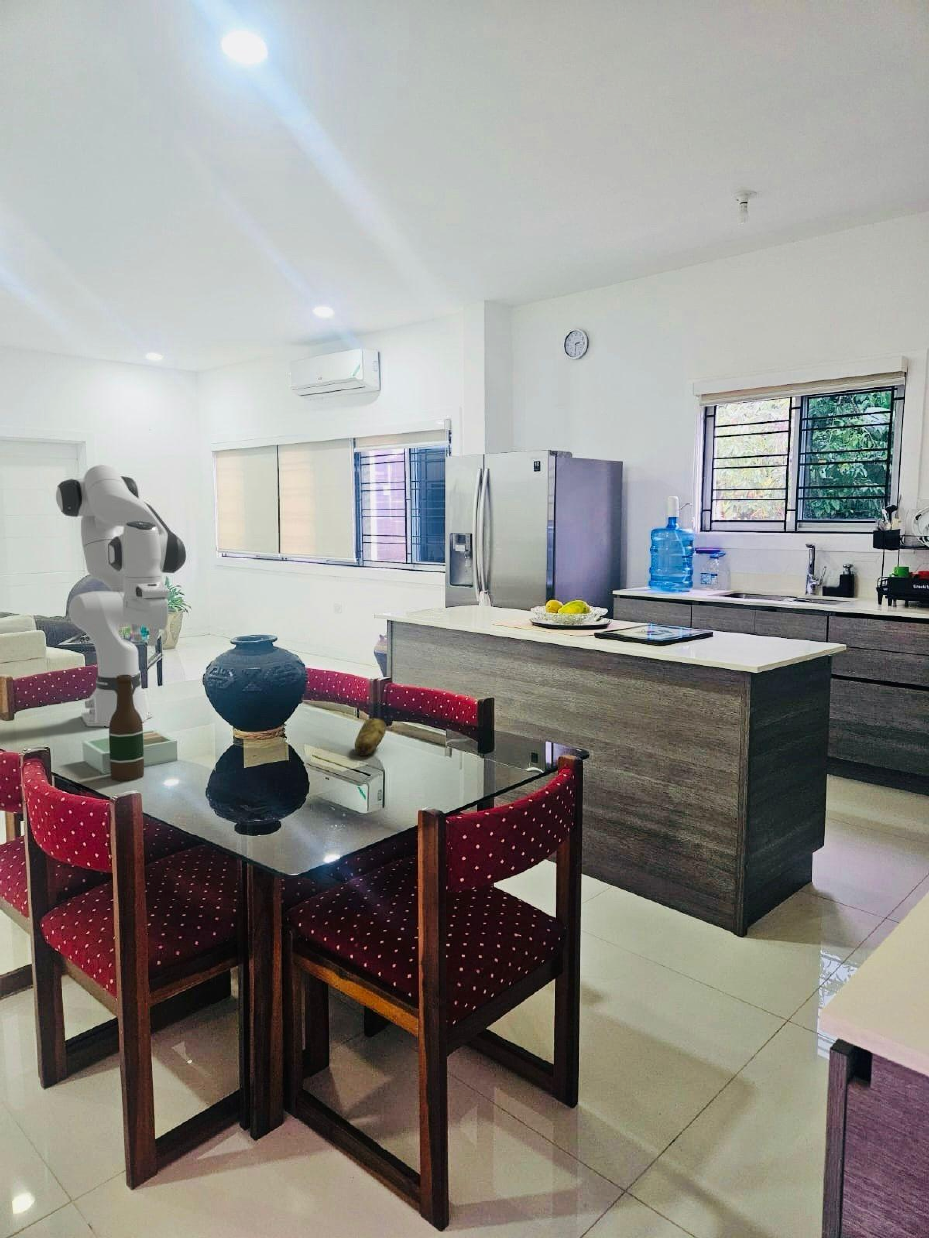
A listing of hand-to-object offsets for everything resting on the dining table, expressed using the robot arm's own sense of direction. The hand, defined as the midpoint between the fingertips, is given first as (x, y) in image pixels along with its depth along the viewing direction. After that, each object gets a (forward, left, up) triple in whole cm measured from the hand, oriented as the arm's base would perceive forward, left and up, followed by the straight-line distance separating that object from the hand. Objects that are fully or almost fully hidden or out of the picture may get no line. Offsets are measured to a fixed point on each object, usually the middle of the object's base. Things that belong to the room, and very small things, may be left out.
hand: (145, 643), depth 202 cm
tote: (0, -5, -29) cm, 29 cm away
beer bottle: (+12, -10, -29) cm, 33 cm away
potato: (+30, +46, -29) cm, 63 cm away
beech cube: (0, 0, -28) cm, 29 cm away
